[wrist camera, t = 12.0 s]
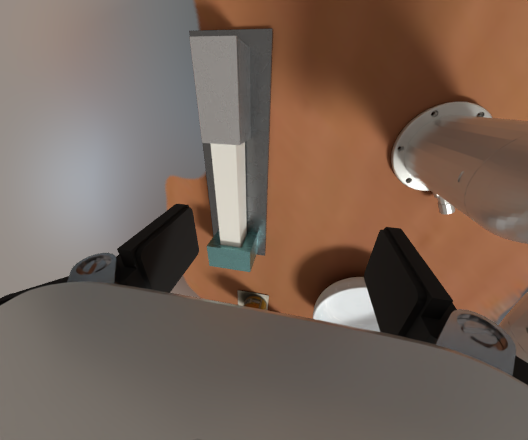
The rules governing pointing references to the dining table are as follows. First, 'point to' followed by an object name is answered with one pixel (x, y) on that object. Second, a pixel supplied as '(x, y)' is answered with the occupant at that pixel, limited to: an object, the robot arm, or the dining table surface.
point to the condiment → (253, 300)
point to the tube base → (257, 132)
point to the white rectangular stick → (230, 192)
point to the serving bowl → (347, 304)
